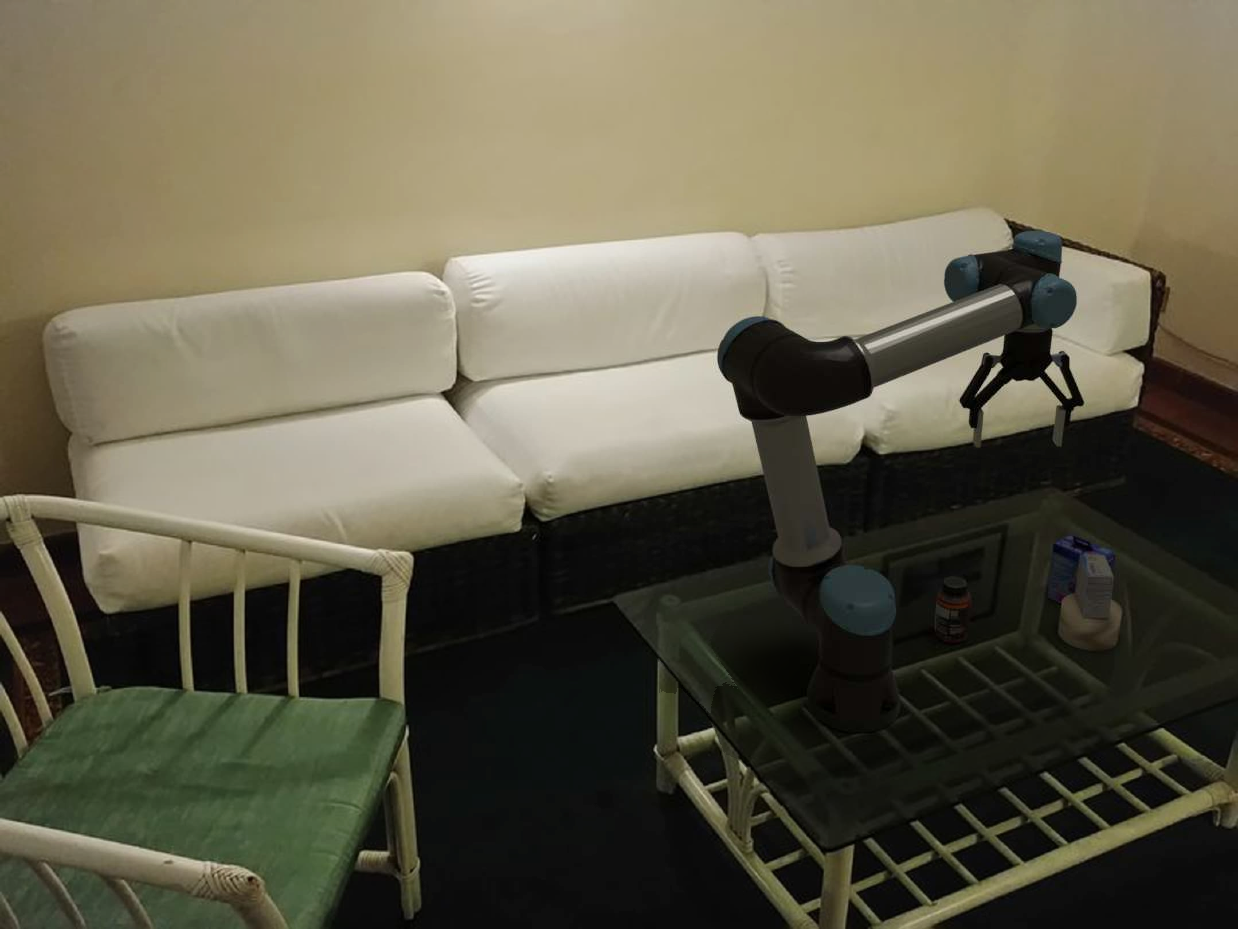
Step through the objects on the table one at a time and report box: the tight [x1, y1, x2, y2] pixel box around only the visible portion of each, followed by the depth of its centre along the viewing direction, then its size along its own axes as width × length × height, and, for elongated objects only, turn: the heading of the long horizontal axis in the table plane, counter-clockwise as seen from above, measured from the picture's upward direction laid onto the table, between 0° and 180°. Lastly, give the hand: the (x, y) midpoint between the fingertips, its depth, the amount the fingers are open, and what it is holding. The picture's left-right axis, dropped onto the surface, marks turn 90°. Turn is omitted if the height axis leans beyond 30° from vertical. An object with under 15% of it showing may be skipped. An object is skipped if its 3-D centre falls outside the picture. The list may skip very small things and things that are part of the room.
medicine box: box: [1075, 554, 1115, 619], centre depth 199 cm, size 8×4×9 cm, turn 170°
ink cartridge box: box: [1046, 533, 1116, 604], centre depth 210 cm, size 10×6×14 cm, turn 38°
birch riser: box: [1057, 593, 1123, 652], centre depth 202 cm, size 10×10×6 cm
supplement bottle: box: [934, 575, 972, 644], centre depth 203 cm, size 6×6×11 cm
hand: (1016, 443), depth 196 cm, fingers open, 13 cm apart
